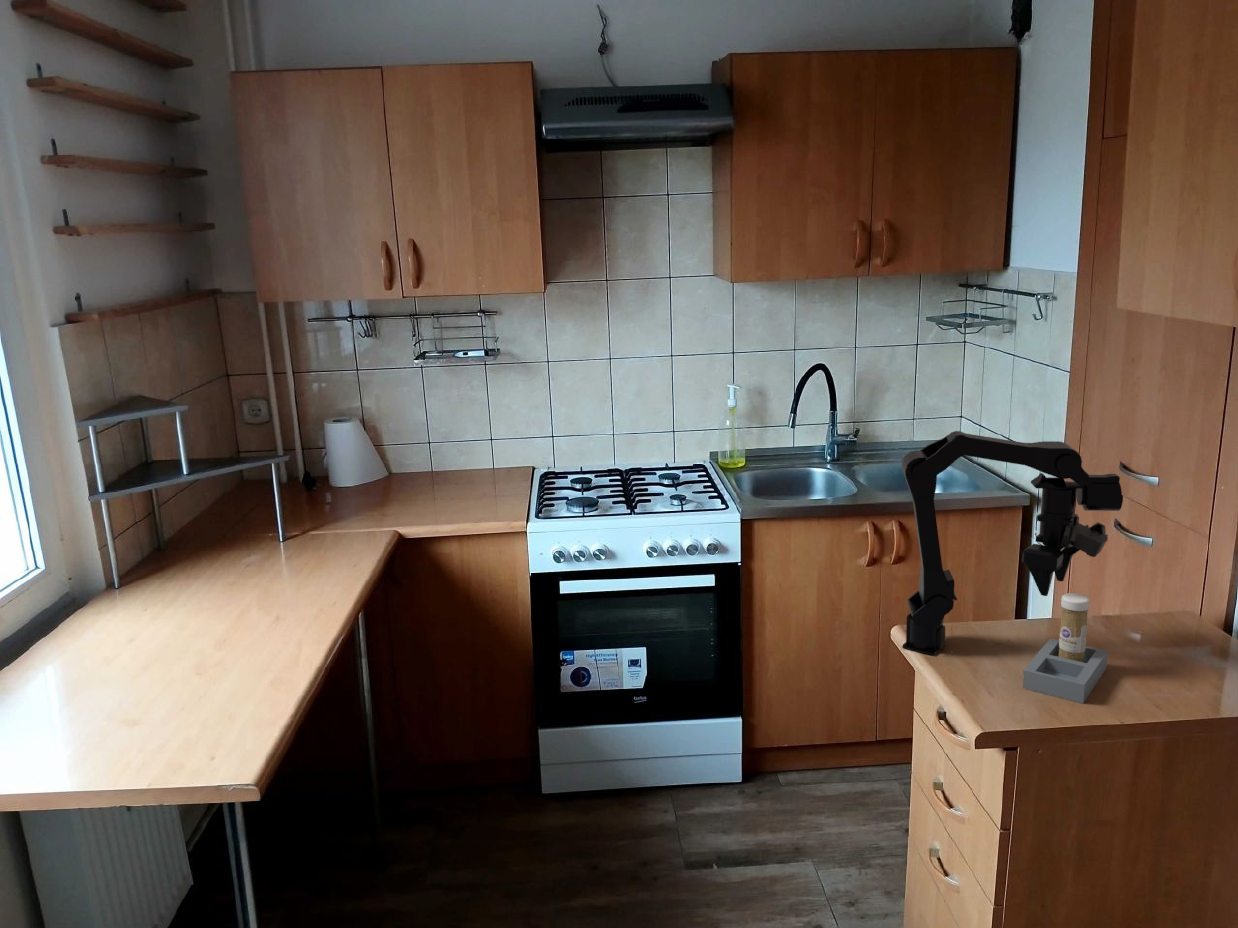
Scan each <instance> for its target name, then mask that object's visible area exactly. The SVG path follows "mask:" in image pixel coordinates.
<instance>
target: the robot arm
mask: <svg viewBox="0 0 1238 928" xmlns="http://www.w3.org/2000/svg"><path fill="white" fill-rule="evenodd" d="M963 456H966V457H972V458H979V459H985V460H989V461H997V462H1002V463H1009V464H1013V465H1014V464H1015V465H1021V466H1026V467H1028V468H1032V469H1033V470H1036V471H1039V472H1040V473H1039V474H1038V476H1036V477H1034V478H1033V479H1031V480H1030V484H1031V485H1032V486H1033V487H1034V488H1035V489H1041V504H1040V505H1041V506H1040V513H1039V514H1038V515H1037V516H1036V521H1037V522H1039V533H1038V534H1037V535H1036V536H1035V542H1036V543H1033V544H1031V545H1030V546H1028V547H1027V548H1025V549H1024V550H1023V551H1021V562H1022V564H1024V566H1026V567H1027V569H1028V571H1029V572H1030V574H1031V576H1032V579H1033V580H1034V582H1035V584H1036V587H1037V590H1038V592H1039V594H1040V595H1041V596H1043V597H1047V596H1048V594H1049V591H1050V589H1051V588H1050V587H1051V584H1052V581H1053V580H1052V579H1053V575H1055V577H1056V580H1057V581H1058V582H1064V581H1065V577H1066V575H1067V572H1068V569H1069V566H1070V564H1071V561H1072V558H1073V556H1074V555H1075V554H1077V552H1079V551H1081V552H1083V553H1086V555H1087V556H1089V557H1092V558H1095V557H1097V555H1099V554H1100V553H1101V552H1102V550H1103V548H1104V546H1105V545H1106V543H1107V541H1108V539H1109V538H1108V536H1109V535H1108V534H1106V525H1104V524H1102V523H1100V522H1096V523H1094V524H1092V525H1091V526H1089V525H1088V524H1086V525H1084V524H1081V523H1080V517H1079V516H1078V515H1079V514H1077V513H1075V510H1076V509H1075V508H1076V503H1077V505H1078V506H1082V508H1083V511H1089V512H1090V511H1095V512H1096V511H1099V512H1103V511H1104V512H1106V511H1107V512H1110V511H1111V512H1119V511H1120V510H1121V509H1122V506H1123V502H1124V501H1123V500H1124V496H1123V494H1122V493H1123V491H1122V486H1121V481H1120V480H1121V479H1120V478H1121V477H1120V476H1119V475H1118V474H1117V473H1106V474H1089V473H1088V472H1086V470H1085V469H1084V468H1083V467H1082V464H1083V463H1082V461H1083V460H1082V457H1081V455H1080V453H1079V451H1076V450H1075V449H1074V448H1072V447H1071V446H1070V445H1069V444H1068V443H1066V442H1063V441H1054V440H1052V441H1050V440H1049V441H1048V440H1047V441H1045V440H1043V441H1036V442H1021V441H1014V440H1009V439H1002V438H997V437H990V436H986V435H985V436H984V435H977V434H971V433H965V432H963V431H961V430H955V431H952V432H950V433H949V434H947V435H946V436H944V437H942V438H940V439H937V441H936V440H935V441H934V442H931V443H929V444H927V445H926V446H924V447H923V448H921V449H920V450H915V449H914V450H913V451H910V452H908V453H907V454H905V456H904V457H903V458H902V460H901V470H902V473H903V476H904V478H905V482H906V484H907V487H908V491H909V493H910V496H911V499H912V505H913V512H914V519H915V525H916V526H915V527H916V528H915V529H916V536H917V541H918V549H919V557H920V563H921V564H920V572H919V578H918V581H919V582H918V590H917V591H916V592H914V593H913V594H912V595H911V596H910V597H909V598H908V599H907V604H908V607H909V611H910V613H909V614H907V616H906V622H905V623H906V624H905V625H906V628H905V630H906V631H905V642H904V643H903V644H902V648H903V649H907V650H911V651H914V652H919V653H922V654H927V655H930V656H935V655H936V654H937V653H938V652H939V651H940V650H941V649H942V648H944V647H945V645H947V644H946V643H947V641H946V626H945V625H944V618H945V616H946V615H948V614H949V613H950V612H951V611H952V610H953V609H954V605H955V604H954V603H955V601H958V598H957V595H956V593H955V578H954V576H953V574H952V572H951V570H950V569H945V570H944V567H943V563H942V562H943V561H942V555H941V553H942V552H941V546H940V538H939V532H938V531H939V530H938V524H937V516H936V508H935V496H936V491H937V482H938V481H937V479H938V477H937V476H938V475H939V474H941V473H943V472H944V471H945V470H947V469H948V468H950V466H951V465H953V464H954V463H955V462H957V460H958V459H960V458H961V457H963ZM1045 474H1046V475H1049V476H1051V477H1049V476H1048V477H1047V476H1045ZM1052 476H1053V477H1052ZM1067 479H1070V480H1071V481H1069V480H1067ZM1065 480H1067V481H1065ZM1038 543H1040V544H1038Z"/></svg>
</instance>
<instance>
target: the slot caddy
mask: <svg viewBox="0 0 1238 928" xmlns="http://www.w3.org/2000/svg"><path fill="white" fill-rule="evenodd" d="M1107 664H1108V650H1105V649H1101V648H1100V649H1099V648H1095V647H1092V646H1087V645H1085V654H1084V663H1083V662H1079V661H1075V660H1070V659H1066V658H1061V657H1059V639H1054V638H1049V639H1048V640H1047V642H1046V643H1044V645H1043V647H1041V649H1040V650H1039V651H1038V652H1037V653H1036V655H1035V656H1034V657H1033V658H1032V660H1031V661H1030V662H1029V663H1028V664H1027V665H1026V667H1025V668H1024V669H1023V673H1022V674H1023V678H1022V689H1024V690H1029V691H1032V692H1036V693H1037V692H1038V693H1040V694H1045V695H1049V696H1053V697H1057V698H1060V699H1065V700H1067V701H1072V702H1076V703H1079V704H1084V703H1085V702H1086V700H1087V698H1088V697H1089V695H1091V692H1092V691H1093V689H1094V688H1095V687H1096V685H1097V683H1098V682H1099V680H1101V677H1102V676H1103V674H1104V672H1106V669H1107V666H1108V665H1107Z"/></svg>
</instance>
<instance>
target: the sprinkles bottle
mask: <svg viewBox="0 0 1238 928" xmlns="http://www.w3.org/2000/svg"><path fill="white" fill-rule="evenodd" d="M1060 602H1061V603H1060V605H1061V615H1060V617H1061V618H1060V629H1059V638H1058V640H1059V657H1061V658H1066V659H1070V660H1075V661H1079V662H1083V663H1084V654H1085V646H1087V644H1086V643H1087V628H1088V614H1089V613H1088V612H1089V609H1090V598H1089V597H1088V596H1086V595H1084V594H1081V593H1075V592H1068V593H1065V594H1063V595H1061V600H1060Z"/></svg>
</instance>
